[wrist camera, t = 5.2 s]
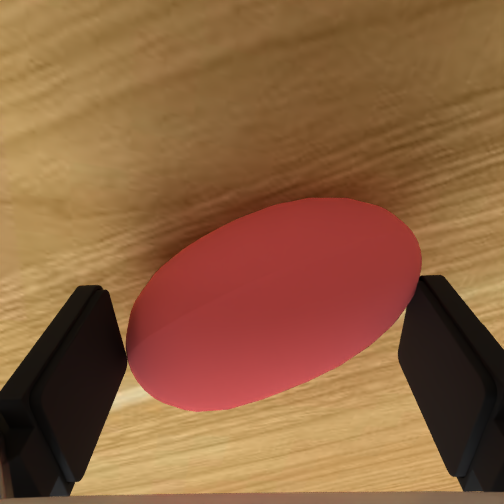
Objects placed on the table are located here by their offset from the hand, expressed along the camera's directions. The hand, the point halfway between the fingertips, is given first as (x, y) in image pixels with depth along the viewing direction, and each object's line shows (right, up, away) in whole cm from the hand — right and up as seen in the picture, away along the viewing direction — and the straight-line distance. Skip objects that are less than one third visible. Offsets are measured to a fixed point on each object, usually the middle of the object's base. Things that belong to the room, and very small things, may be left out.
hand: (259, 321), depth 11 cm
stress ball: (0, +2, +2) cm, 3 cm away
